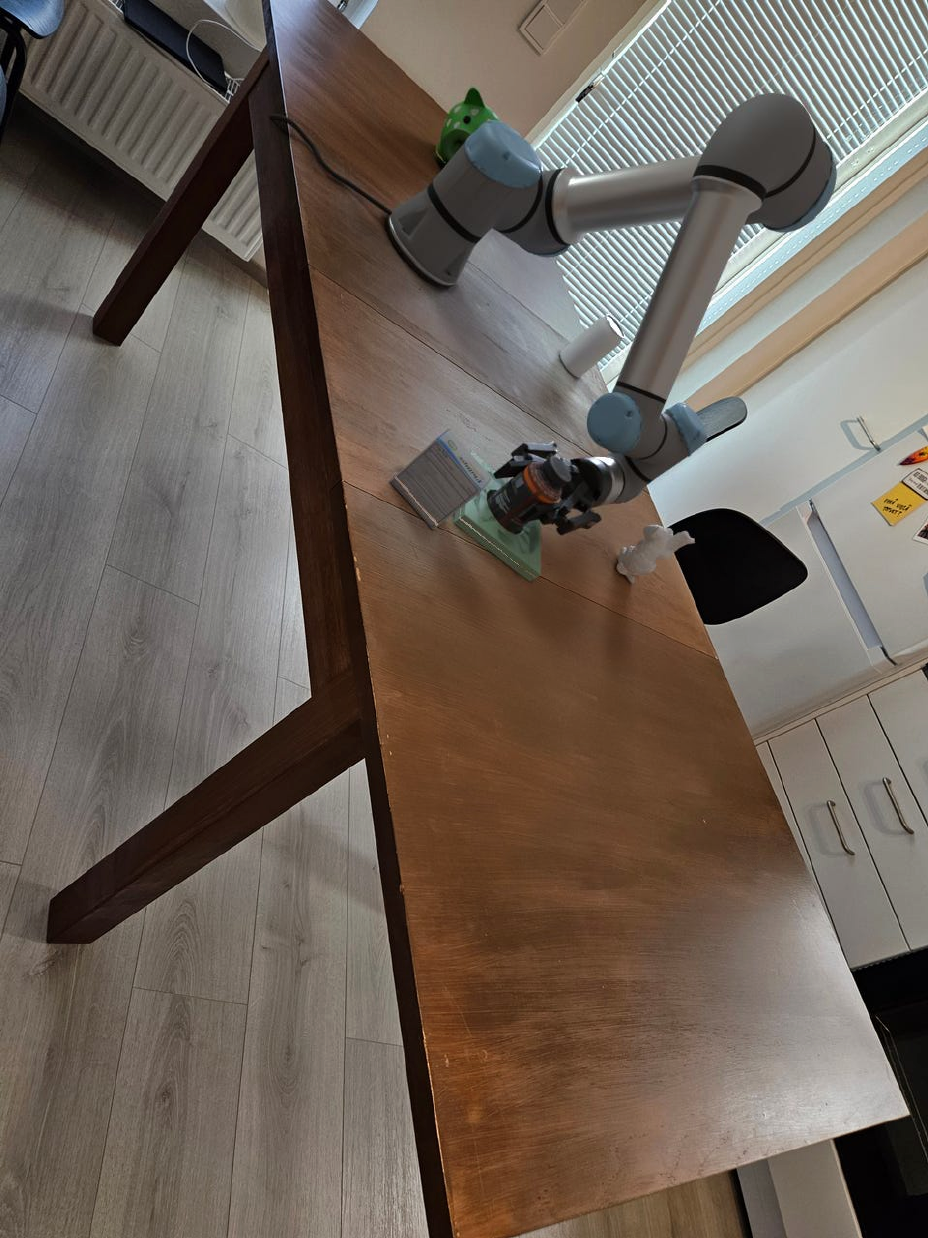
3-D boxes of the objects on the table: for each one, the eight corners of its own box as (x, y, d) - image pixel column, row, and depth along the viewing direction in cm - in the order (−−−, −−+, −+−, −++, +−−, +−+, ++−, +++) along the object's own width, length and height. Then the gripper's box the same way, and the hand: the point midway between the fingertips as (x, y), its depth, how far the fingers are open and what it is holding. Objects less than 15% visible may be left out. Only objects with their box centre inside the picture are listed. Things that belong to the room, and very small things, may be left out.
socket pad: (453, 523, 100) (464, 514, 99) (461, 458, 110) (471, 450, 109) (530, 582, 107) (541, 574, 106) (530, 516, 117) (540, 509, 116)
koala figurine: (633, 564, 135) (693, 526, 129) (642, 595, 132) (704, 558, 125) (602, 544, 130) (663, 503, 124) (611, 576, 126) (674, 536, 120)
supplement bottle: (520, 532, 110) (583, 486, 104) (499, 538, 105) (564, 490, 99) (497, 496, 111) (559, 448, 105) (476, 500, 106) (539, 450, 100)
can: (572, 379, 160) (620, 339, 153) (554, 352, 160) (601, 311, 153) (583, 377, 165) (629, 339, 159) (565, 351, 165) (611, 312, 159)
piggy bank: (417, 150, 161) (468, 87, 153) (432, 131, 174) (480, 73, 166) (467, 205, 167) (519, 148, 158) (478, 183, 180) (527, 129, 172)
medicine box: (444, 518, 100) (493, 478, 95) (431, 532, 96) (482, 491, 91) (402, 469, 98) (450, 426, 93) (388, 481, 94) (436, 437, 90)
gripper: (602, 549, 120) (531, 571, 101) (538, 445, 123) (457, 447, 104) (642, 522, 116) (576, 540, 97) (575, 415, 118) (498, 411, 99)
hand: (515, 492), depth 100 cm, fingers closed on supplement bottle, 6 cm apart
